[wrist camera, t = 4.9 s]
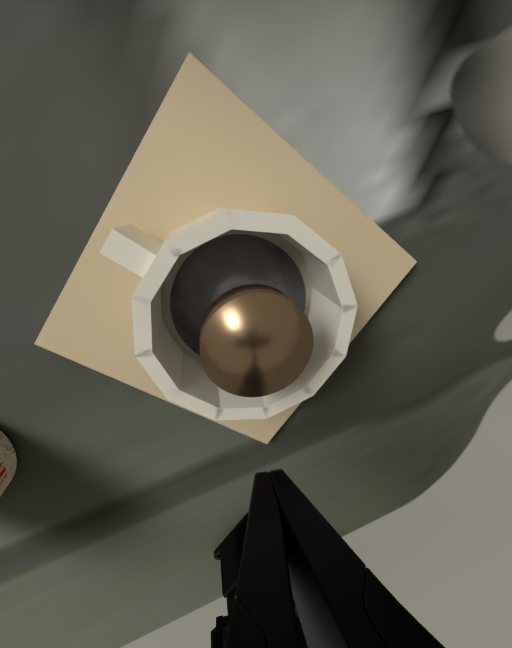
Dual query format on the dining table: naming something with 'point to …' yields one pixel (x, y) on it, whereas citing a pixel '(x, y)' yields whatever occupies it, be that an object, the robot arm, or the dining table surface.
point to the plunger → (243, 314)
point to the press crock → (202, 226)
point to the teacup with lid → (6, 462)
